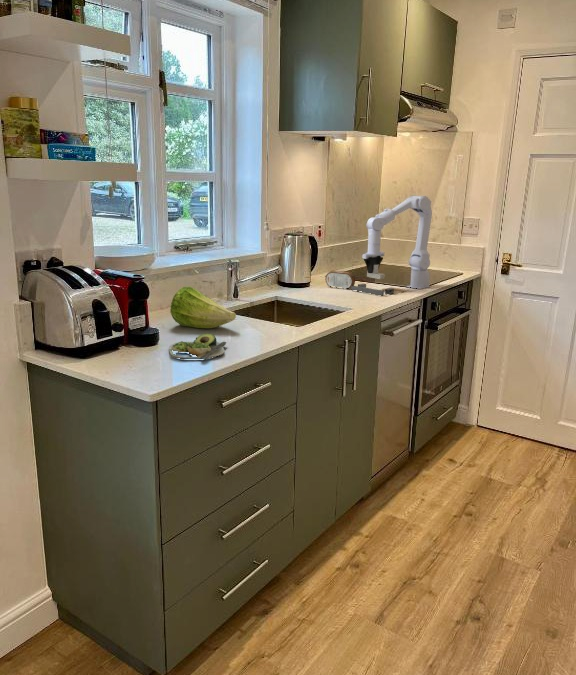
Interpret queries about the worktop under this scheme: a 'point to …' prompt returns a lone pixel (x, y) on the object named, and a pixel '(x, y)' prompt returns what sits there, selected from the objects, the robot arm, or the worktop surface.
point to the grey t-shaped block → (375, 273)
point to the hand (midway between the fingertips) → (372, 272)
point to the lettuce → (198, 310)
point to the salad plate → (199, 347)
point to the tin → (340, 279)
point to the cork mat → (397, 290)
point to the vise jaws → (372, 290)
